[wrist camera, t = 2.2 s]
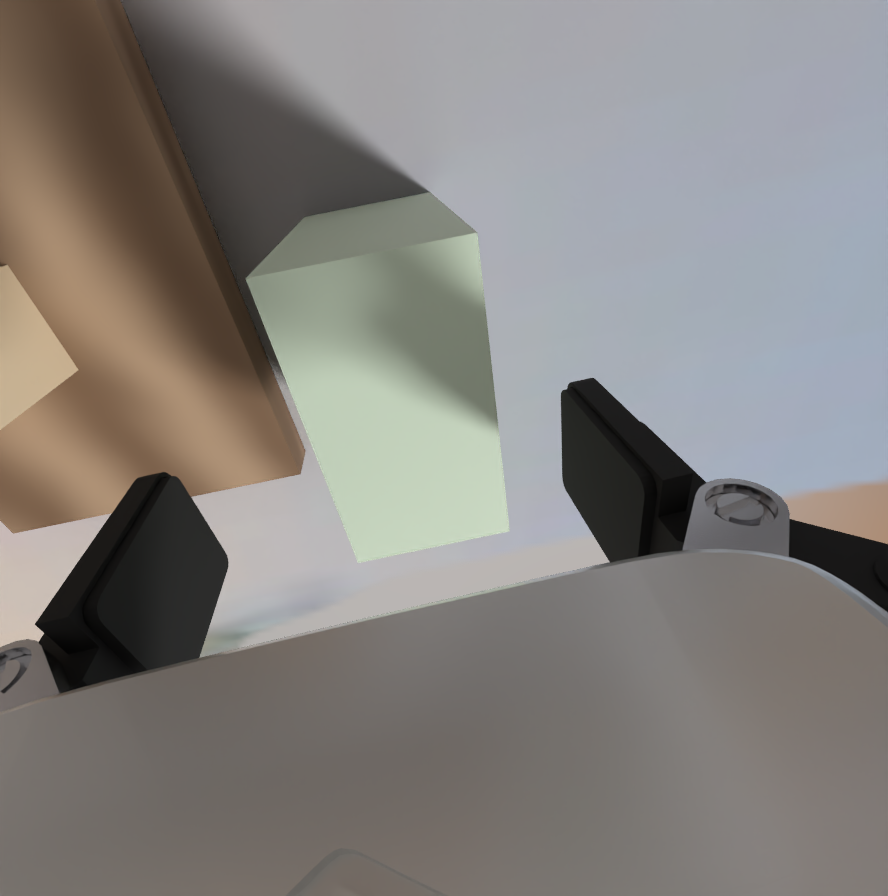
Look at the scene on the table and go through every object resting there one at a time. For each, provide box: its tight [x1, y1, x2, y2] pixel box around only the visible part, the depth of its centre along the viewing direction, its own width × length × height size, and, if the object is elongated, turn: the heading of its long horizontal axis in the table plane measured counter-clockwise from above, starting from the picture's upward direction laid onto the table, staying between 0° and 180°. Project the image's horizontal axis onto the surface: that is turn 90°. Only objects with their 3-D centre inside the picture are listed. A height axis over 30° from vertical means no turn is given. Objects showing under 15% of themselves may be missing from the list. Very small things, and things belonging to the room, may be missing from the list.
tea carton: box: [245, 192, 509, 563], centre depth 16 cm, size 5×9×10 cm, turn 9°
